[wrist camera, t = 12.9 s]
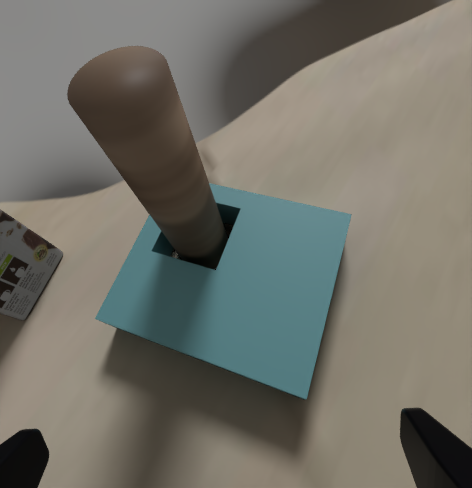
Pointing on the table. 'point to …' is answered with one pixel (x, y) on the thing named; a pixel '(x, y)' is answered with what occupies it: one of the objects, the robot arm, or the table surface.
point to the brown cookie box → (23, 266)
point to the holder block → (239, 290)
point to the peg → (151, 146)
